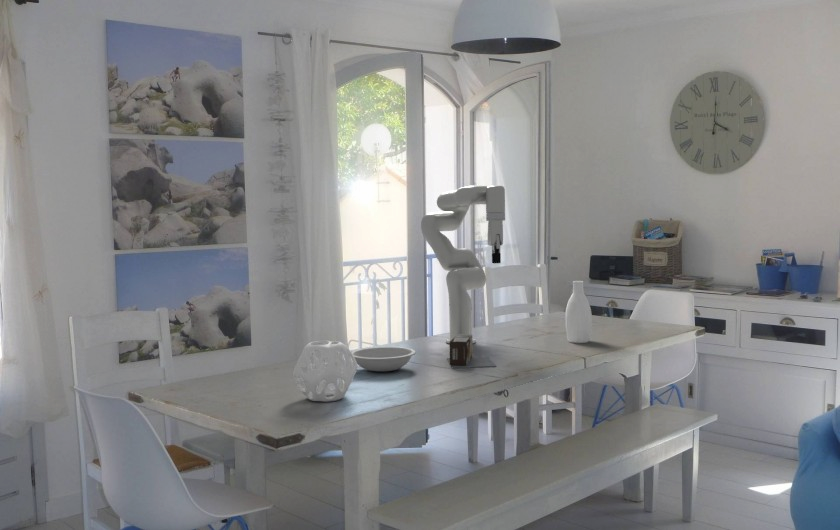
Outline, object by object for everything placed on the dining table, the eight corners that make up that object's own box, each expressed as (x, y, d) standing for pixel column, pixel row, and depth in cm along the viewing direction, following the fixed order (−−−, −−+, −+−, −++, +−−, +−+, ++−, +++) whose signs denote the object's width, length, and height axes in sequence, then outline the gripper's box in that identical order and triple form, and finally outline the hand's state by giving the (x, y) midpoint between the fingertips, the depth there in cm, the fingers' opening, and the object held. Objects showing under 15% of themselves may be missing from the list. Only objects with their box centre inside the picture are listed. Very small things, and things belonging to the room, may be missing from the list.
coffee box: (456, 334, 326) (449, 340, 310) (472, 334, 325) (466, 340, 309) (456, 357, 327) (449, 365, 311) (473, 358, 325) (466, 366, 310)
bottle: (590, 344, 353) (589, 282, 351) (563, 343, 357) (562, 282, 355) (593, 339, 364) (593, 280, 362) (567, 338, 367) (566, 279, 365)
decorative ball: (288, 406, 255) (287, 349, 254) (298, 392, 275) (296, 338, 274) (355, 405, 255) (354, 347, 254) (360, 390, 275) (358, 337, 274)
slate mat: (446, 359, 326) (446, 358, 326) (488, 357, 327) (488, 356, 327) (452, 368, 308) (452, 367, 308) (496, 366, 309) (496, 365, 309)
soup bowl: (341, 367, 314) (341, 349, 314) (403, 361, 323) (402, 344, 322) (360, 379, 292) (359, 360, 291) (426, 373, 300) (425, 354, 300)
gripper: (483, 216, 346) (484, 262, 347) (489, 217, 331) (489, 264, 332) (501, 216, 346) (502, 261, 348) (508, 217, 331) (509, 264, 333)
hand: (496, 263), depth 340 cm, fingers closed
